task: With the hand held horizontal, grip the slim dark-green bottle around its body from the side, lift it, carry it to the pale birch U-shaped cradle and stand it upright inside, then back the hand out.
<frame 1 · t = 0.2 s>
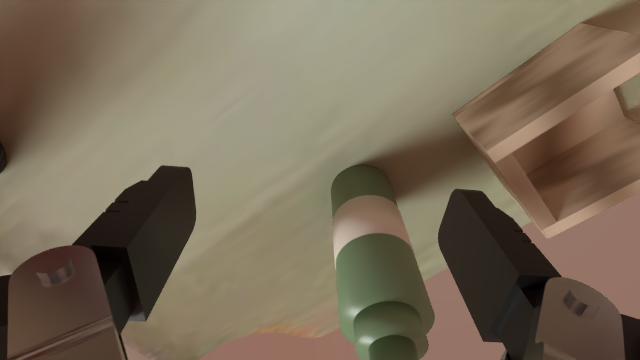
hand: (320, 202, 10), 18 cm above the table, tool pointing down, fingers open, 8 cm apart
cradle: (538, 119, 28), on the table
green bottle: (360, 190, 32), on the table
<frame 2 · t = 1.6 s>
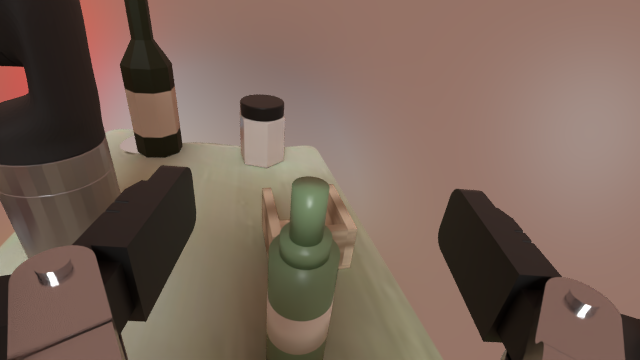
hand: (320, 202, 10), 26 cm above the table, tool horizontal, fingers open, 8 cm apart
cradle: (303, 245, 47), on the table
jar: (262, 158, 68), on the table
green bottle: (294, 355, 33), on the table
wine bottle: (160, 149, 68), on the table
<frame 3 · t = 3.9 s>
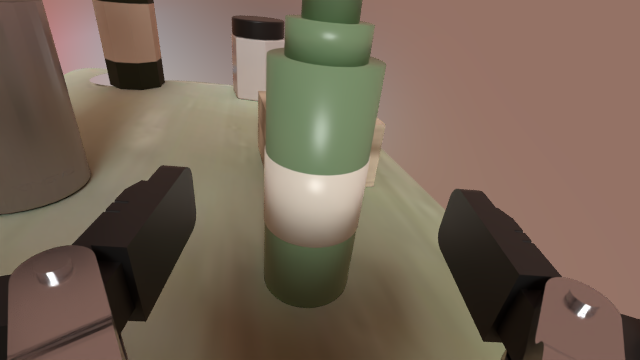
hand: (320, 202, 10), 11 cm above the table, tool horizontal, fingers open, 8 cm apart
cradle: (311, 164, 37), on the table
jar: (258, 95, 58), on the table
green bottle: (305, 273, 23), on the table
wine bottle: (138, 84, 57), on the table
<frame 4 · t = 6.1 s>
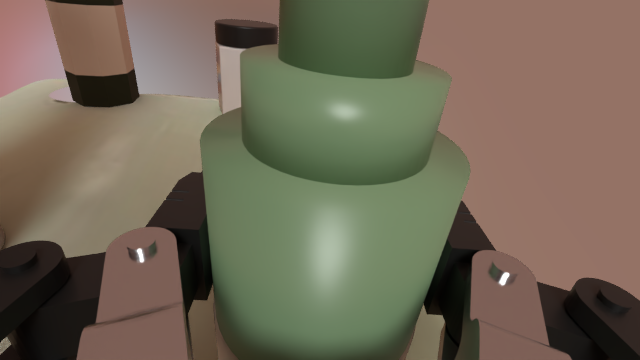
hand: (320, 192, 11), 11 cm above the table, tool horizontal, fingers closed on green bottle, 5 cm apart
jar: (248, 112, 50), on the table
wine bottle: (107, 99, 49), on the table
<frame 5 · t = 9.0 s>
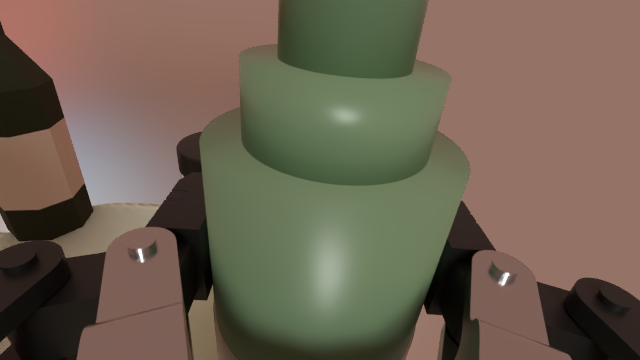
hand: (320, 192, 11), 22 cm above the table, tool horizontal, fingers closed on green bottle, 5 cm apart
jar: (223, 233, 41), on the table
wine bottle: (53, 220, 41), on the table
when the fingers open (13 cm above the table, at t = 11.7 s): green bottle drops 1 cm, resting on cradle.
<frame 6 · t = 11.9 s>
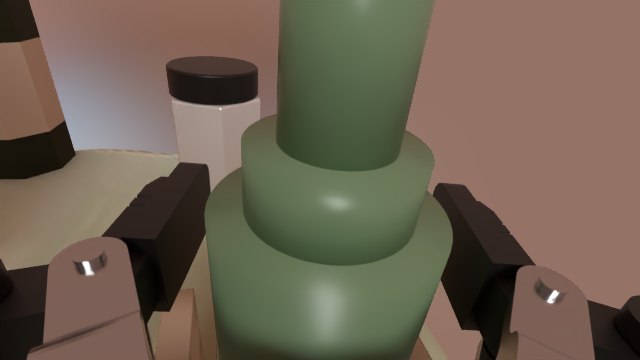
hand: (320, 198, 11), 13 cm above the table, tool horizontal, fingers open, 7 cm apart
jar: (220, 178, 37), on the table
wine bottle: (29, 162, 36), on the table
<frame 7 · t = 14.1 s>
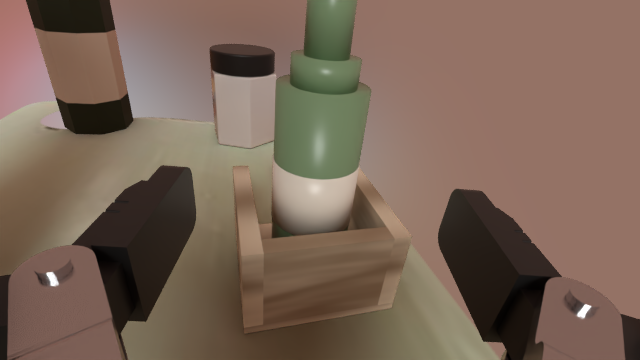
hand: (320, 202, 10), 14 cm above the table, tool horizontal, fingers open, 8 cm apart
cradle: (305, 265, 27), on the table
jar: (244, 137, 48), on the table
green bottle: (306, 261, 26), point 1 cm above the table, touching cradle
wine bottle: (100, 124, 48), on the table
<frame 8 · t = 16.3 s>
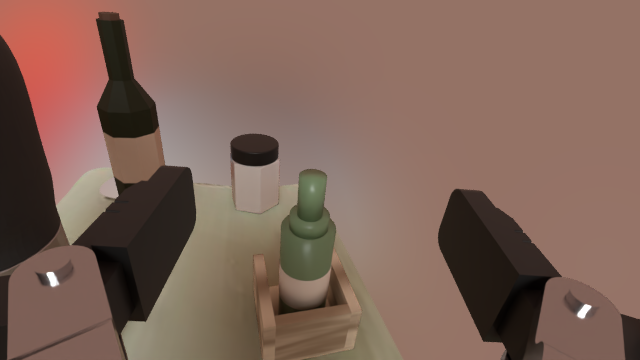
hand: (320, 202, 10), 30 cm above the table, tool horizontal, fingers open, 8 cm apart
cradle: (300, 318, 41), on the table
jar: (255, 201, 63), on the table
green bottle: (300, 316, 41), point 1 cm above the table, touching cradle
wine bottle: (144, 192, 62), on the table
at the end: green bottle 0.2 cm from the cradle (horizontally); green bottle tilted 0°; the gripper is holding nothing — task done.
